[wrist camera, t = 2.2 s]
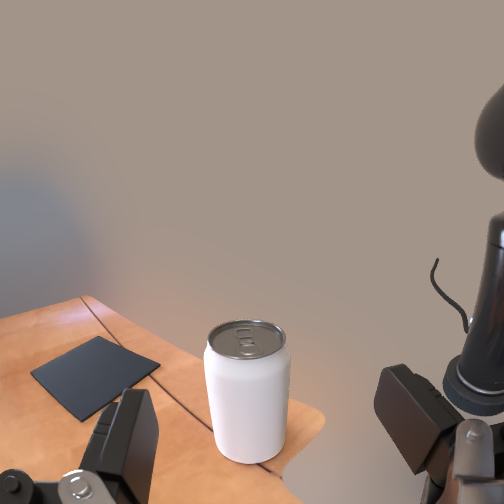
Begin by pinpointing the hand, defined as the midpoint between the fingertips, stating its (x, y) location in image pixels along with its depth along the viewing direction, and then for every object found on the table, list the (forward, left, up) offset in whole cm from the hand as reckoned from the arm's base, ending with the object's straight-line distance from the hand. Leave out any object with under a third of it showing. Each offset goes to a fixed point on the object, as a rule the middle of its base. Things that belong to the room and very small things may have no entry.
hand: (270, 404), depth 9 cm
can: (-10, -6, -16) cm, 20 cm away
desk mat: (-9, -29, -16) cm, 34 cm away
